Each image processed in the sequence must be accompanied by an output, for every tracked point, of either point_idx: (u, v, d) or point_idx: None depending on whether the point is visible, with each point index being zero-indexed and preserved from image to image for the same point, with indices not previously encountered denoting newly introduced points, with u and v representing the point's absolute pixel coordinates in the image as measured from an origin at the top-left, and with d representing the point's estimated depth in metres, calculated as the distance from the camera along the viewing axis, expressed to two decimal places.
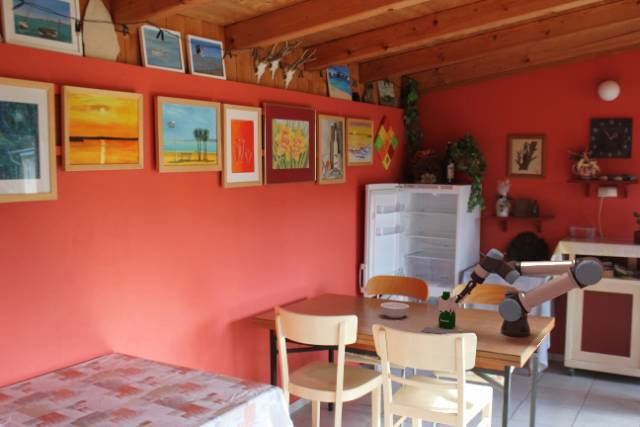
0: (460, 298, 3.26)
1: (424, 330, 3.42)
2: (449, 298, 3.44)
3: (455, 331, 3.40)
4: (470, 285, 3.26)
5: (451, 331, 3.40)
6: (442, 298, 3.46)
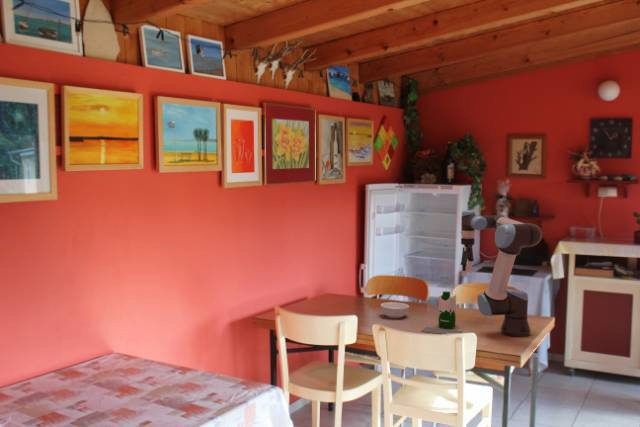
0: (464, 264, 3.53)
1: (424, 330, 3.42)
2: (449, 298, 3.44)
3: (455, 331, 3.40)
4: (465, 249, 3.55)
5: (451, 331, 3.40)
6: (442, 298, 3.46)
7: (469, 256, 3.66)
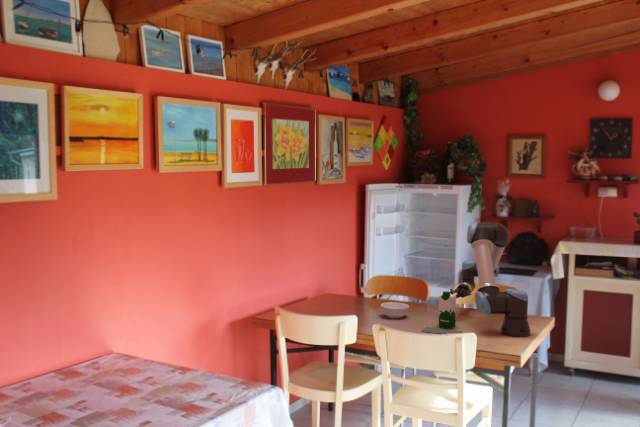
0: None
1: (424, 330, 3.42)
2: (449, 298, 3.44)
3: (455, 331, 3.40)
4: (450, 291, 3.76)
5: (451, 331, 3.40)
6: (442, 298, 3.46)
7: None
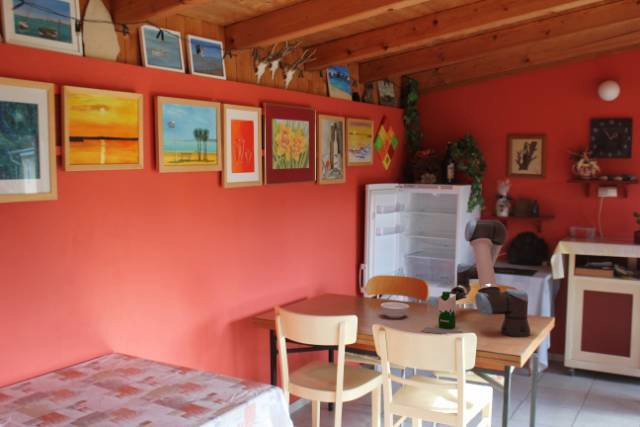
0: None
1: (424, 330, 3.42)
2: (449, 298, 3.44)
3: (455, 331, 3.40)
4: None
5: (451, 331, 3.40)
6: (442, 298, 3.46)
7: None
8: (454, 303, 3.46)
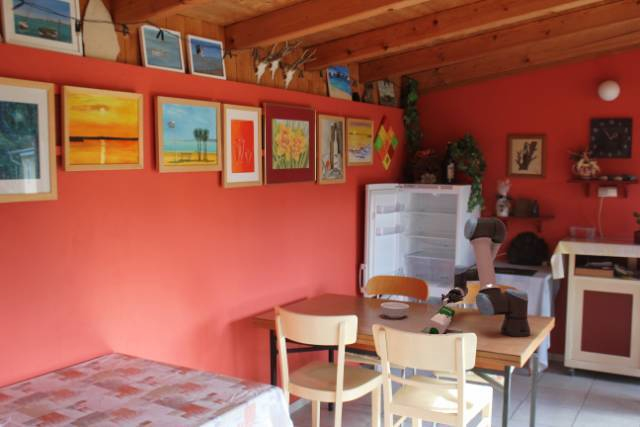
0: None
1: (424, 330, 3.42)
2: None
3: (455, 331, 3.40)
4: (441, 296, 3.63)
5: (451, 331, 3.40)
6: None
7: None
8: (445, 328, 3.31)
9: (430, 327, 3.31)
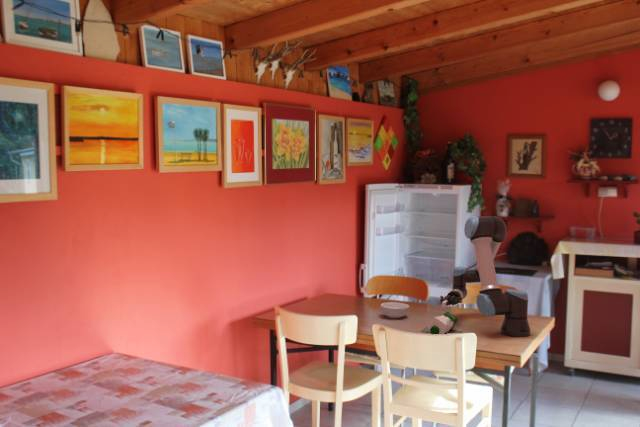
0: (440, 300, 3.50)
1: (424, 330, 3.42)
2: None
3: (455, 331, 3.40)
4: (440, 298, 3.58)
5: (451, 331, 3.40)
6: None
7: None
8: (446, 330, 3.32)
9: (432, 325, 3.32)
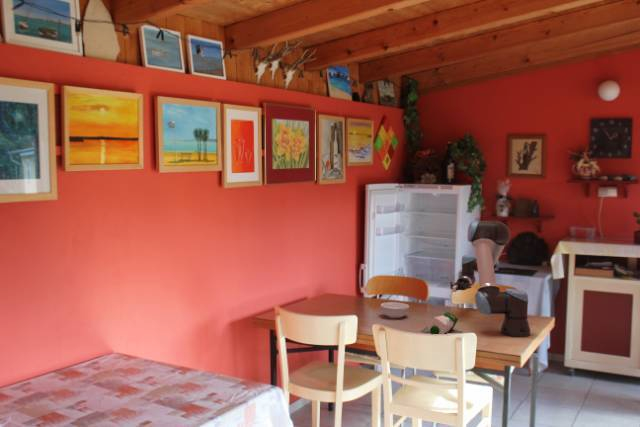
0: (450, 285, 3.69)
1: (424, 330, 3.42)
2: None
3: (455, 331, 3.40)
4: (450, 284, 3.77)
5: (451, 331, 3.40)
6: None
7: None
8: (446, 330, 3.32)
9: (432, 325, 3.32)
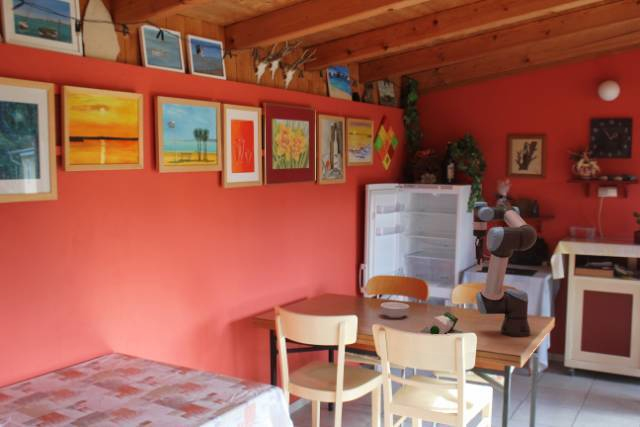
0: (479, 258, 3.58)
1: (424, 330, 3.42)
2: None
3: (455, 331, 3.40)
4: (477, 244, 3.56)
5: (451, 331, 3.40)
6: None
7: None
8: (446, 330, 3.32)
9: (432, 325, 3.32)
